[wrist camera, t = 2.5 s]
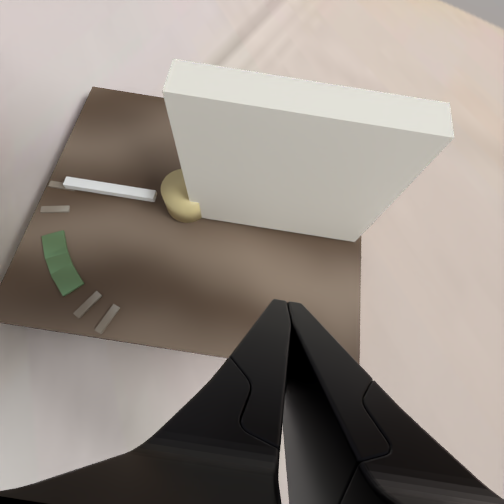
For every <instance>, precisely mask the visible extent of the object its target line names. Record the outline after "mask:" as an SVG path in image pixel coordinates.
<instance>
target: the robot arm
mask: <svg viewBox="0 0 504 504" xmlns="http://www.w3.org/2000/svg"><path fill="white" fill-rule="evenodd" d="M372 380H373V379H372V378H371V377H370V376H369V374H368V373H367V372H366V371H365V370H364V369H363V368H362V367H361V366H360V365H359V364H358V363H357V362H356V361H355V360H354V359H353V357H352V356H351V355H350V354H349V353H348V352H347V351H346V350H345V349H344V348H343V347H342V346H341V345H340V344H339V343H338V342H337V340H336V339H335V338H334V337H333V336H332V335H331V334H330V333H329V332H328V331H327V330H326V329H325V328H324V327H323V326H322V325H321V323H320V322H319V321H318V320H317V319H316V318H315V317H314V316H313V315H312V314H311V313H310V312H309V311H308V310H307V309H306V308H305V306H304V305H303V304H301V303H297V302H291V301H289V302H286V301H285V300H278V299H273V300H272V301H271V302H270V304H269V305H268V306H267V308H266V309H265V310H264V312H263V313H262V314H261V315H260V317H259V318H258V319H257V321H256V322H255V323H254V325H253V326H252V327H251V329H250V330H249V331H248V333H247V334H246V335H245V337H244V338H243V339H242V340H241V342H240V343H239V344H238V346H237V347H236V348H235V350H234V351H233V352H232V354H231V355H230V356H229V358H228V359H227V360H226V361H225V363H224V364H223V365H222V366H221V368H220V369H219V370H218V371H217V373H216V374H215V375H214V376H213V377H212V379H211V380H210V381H209V382H208V383H207V384H206V385H205V386H204V387H203V388H202V389H201V390H200V391H199V392H198V393H197V394H196V395H195V396H194V397H193V398H192V399H191V400H190V401H189V402H188V403H187V404H186V405H185V406H184V407H182V408H181V409H180V410H179V411H178V412H177V413H176V414H175V415H174V416H173V417H172V418H171V419H170V420H169V421H168V422H167V423H166V424H165V425H164V426H163V427H162V428H161V429H159V430H158V431H157V432H156V433H155V434H154V435H153V436H152V437H151V438H149V439H148V440H147V441H146V442H144V443H143V444H141V445H140V446H138V447H137V448H135V449H133V450H132V451H130V452H127V453H125V454H122V455H119V456H116V457H113V458H110V459H107V460H104V461H101V462H98V463H95V464H91V465H88V466H85V467H82V468H79V469H76V470H73V471H70V472H67V473H64V474H61V475H58V476H55V477H52V478H49V479H46V480H43V481H40V482H37V483H34V484H30V485H27V486H23V487H19V488H15V489H9V490H4V491H0V504H281V497H280V490H279V481H278V469H279V452H280V445H281V434H282V423H283V434H284V446H285V458H286V470H287V482H288V494H289V504H504V499H502V498H501V497H499V496H498V495H497V494H495V493H494V492H493V491H491V490H490V489H489V488H488V487H487V486H485V485H484V484H483V483H482V482H481V481H480V480H478V479H477V478H476V477H475V476H474V475H473V474H472V473H471V472H470V471H469V470H467V469H466V468H465V467H464V466H463V465H462V464H461V463H460V462H459V461H458V460H456V459H455V458H454V457H453V456H452V455H451V454H450V453H449V452H448V451H447V450H446V449H444V448H443V447H442V446H441V445H440V444H439V443H438V442H437V441H436V440H435V439H433V438H432V437H431V436H430V435H429V434H428V433H427V432H426V431H425V430H424V429H423V428H421V427H420V426H419V425H418V424H417V423H416V422H415V421H414V420H413V419H412V418H411V417H410V416H409V415H408V414H407V413H406V412H405V411H403V410H402V409H401V408H400V407H399V406H398V405H397V404H396V403H395V402H394V400H393V399H392V398H391V397H390V396H389V395H388V394H387V393H386V392H385V391H384V390H383V389H382V388H381V387H380V386H379V385H378V384H377V383H376V382H375V381H372Z"/></svg>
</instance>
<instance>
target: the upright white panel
mask: <svg viewBox="0 0 504 504" xmlns="http://www.w3.org/2000/svg"><path fill="white" fill-rule="evenodd" d="M162 93H163V97H164V101H165V105H166V109H167V113H168V117H169V121H170V125H171V129H172V133H173V137H174V141H175V145H176V149H177V153H178V157H179V161H180V165H181V169H178V170H175V171H173V172H171V173H169V174H168V175H167V176H166V177H165V178H164V180H163V181H162V184H161V195H162V197H163V200H164V202H165V205H166V207H167V210H168V212H169V214H170V215H171V216H172V217H173V218H174V219H175V220H177V221H180V222H184V223H191V222H195V221H198V220H200V219H201V218H206V219H212V220H218V221H225V222H231V223H237V224H244V225H250V226H256V227H263V228H269V229H275V230H282V231H288V232H294V233H301V234H307V235H313V236H320V237H326V238H332V239H339V240H345V241H351V242H355V241H356V240H357V239H358V238H359V237H360V236H361V235H362V234H363V233H364V232H365V231H366V230H367V229H368V228H369V227H370V226H371V225H372V224H373V222H374V221H375V220H376V219H377V218H378V217H379V216H380V215H381V214H382V213H383V212H384V211H385V210H386V209H387V208H388V207H389V206H390V205H391V204H392V203H393V201H394V200H395V199H396V198H397V197H398V196H399V195H400V194H401V193H402V192H403V191H404V190H405V189H406V188H407V187H408V186H409V185H410V184H411V183H412V182H413V180H414V179H415V178H416V177H417V176H418V175H419V174H420V173H421V172H422V171H423V170H424V169H425V168H426V167H427V166H428V165H429V164H430V163H431V162H432V161H433V159H434V158H435V157H436V156H437V155H438V154H439V153H440V152H441V151H442V150H443V149H444V148H445V147H446V146H447V145H448V144H449V143H450V142H451V141H452V140H453V139H454V133H453V125H452V117H451V109H450V103H448V102H441V101H435V100H429V99H423V98H416V97H410V96H404V95H398V94H391V93H385V92H379V91H373V90H366V89H360V88H354V87H348V86H341V85H335V84H329V83H323V82H316V81H310V80H304V79H298V78H291V77H285V76H279V75H273V74H266V73H260V72H254V71H248V70H241V69H235V68H229V67H223V66H216V65H210V64H204V63H197V62H191V61H185V60H179V59H173V61H172V64H171V67H170V70H169V73H168V76H167V79H166V82H165V85H164V87H163V90H162ZM63 185H64V187H65V188H68V189H74V190H80V191H87V192H93V193H99V194H105V195H112V196H118V197H124V198H131V199H137V200H143V201H150V202H155V200H156V197H157V192H156V190H150V189H143V188H137V187H131V186H125V185H118V184H112V183H106V182H99V181H93V180H87V179H80V178H74V177H68V176H66V178H65V180H64V183H63Z"/></svg>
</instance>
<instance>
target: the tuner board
mask: <svg viewBox="0 0 504 504" xmlns="http://www.w3.org/2000/svg"><path fill="white" fill-rule="evenodd" d="M178 169H181V165H180V161H179V157H178V153H177V149H176V145H175V141H174V137H173V133H172V129H171V125H170V121H169V117H168V113H167V109H166V105H165V101H164V98H161V97H154V96H148V95H142V94H136V93H129V92H123V91H117V90H110V89H104V88H98V87H92V89H91V91H90V93H89V96H88V98H87V100H86V102H85V104H84V106H83V109H82V111H81V113H80V115H79V117H78V119H77V121H76V124H75V126H74V128H73V130H72V132H71V134H70V137H69V139H68V141H67V143H66V145H65V147H64V149H63V152H62V154H61V156H60V158H59V160H58V162H57V165H56V167H55V169H54V171H53V173H52V175H51V177H50V180H49V182H48V184H47V186H46V188H45V190H44V193H43V195H42V197H41V199H40V201H39V203H38V205H37V208H36V210H35V212H34V214H33V216H32V218H31V221H30V223H29V225H28V227H27V229H26V231H25V233H24V236H23V238H22V240H21V242H20V244H19V246H18V249H17V251H16V253H15V255H14V257H13V259H12V261H11V264H10V266H9V268H8V270H7V272H6V274H5V277H4V279H3V281H2V283H1V285H0V323H5V324H12V325H18V326H24V327H31V328H37V329H44V330H50V331H56V332H63V333H69V334H76V335H82V336H88V337H95V338H101V339H108V340H114V341H120V342H127V343H133V344H140V345H146V346H152V347H159V348H165V349H172V350H178V351H185V352H191V353H197V354H204V355H210V356H217V357H223V358H229V356H230V355H231V354H232V352H233V351H234V350H235V348H236V347H237V346H238V344H239V343H240V342H241V340H242V339H243V338H244V337H245V335H246V334H247V333H248V331H249V330H250V329H251V327H252V326H253V325H254V323H255V322H256V321H257V319H258V318H259V317H260V315H261V314H262V313H263V312H264V310H265V309H266V308H267V306H268V305H269V304H270V302H271V301H272V300H273V299H278V300H285V301H286V302H289V301H291V302H297V303H301V304H303V305H304V306H305V308H306V309H307V310H308V311H309V312H310V313H311V314H312V315H313V316H314V317H315V318H316V319H317V320H318V321H319V322H320V323H321V325H322V326H323V327H324V328H325V329H326V330H327V331H328V332H329V333H330V334H331V335H332V336H333V337H334V338H335V339H336V340H337V342H338V343H339V344H340V345H341V346H342V347H343V348H344V349H345V350H346V351H347V352H348V353H349V354H350V355H351V356H352V357H353V359H354V360H355V361H356V362H357V363H358V364H359V358H360V285H361V236H360V237H359V238H358V239H357V240H356V241H355V242H351V241H345V240H339V239H332V238H326V237H320V236H313V235H307V234H301V233H294V232H288V231H282V230H275V229H269V228H263V227H256V226H250V225H244V224H237V223H231V222H225V221H218V220H212V219H206V218H201V219H200V220H198V221H195V222H191V223H184V222H180V221H177V220H175V219H174V218H173V217H172V216H171V215H170V214H169V212H168V210H167V207H166V205H165V202H164V200H163V197H162V195H161V184H162V181H163V180H164V178H165V177H166V176H167V175H168V174H169V173H171V172H173V171H175V170H178ZM66 176H68V177H74V178H80V179H87V180H93V181H99V182H106V183H112V184H118V185H125V186H131V187H137V188H143V189H150V190H156V192H157V197H156V200H155V202H150V201H143V200H137V199H131V198H124V197H118V196H112V195H105V194H99V193H93V192H87V191H80V190H74V189H68V188H65V187H64V185H63V183H64V180H65V178H66Z"/></svg>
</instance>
